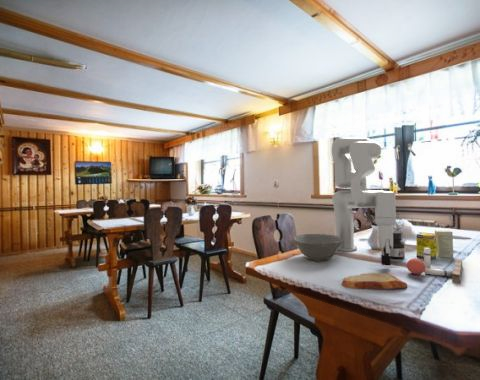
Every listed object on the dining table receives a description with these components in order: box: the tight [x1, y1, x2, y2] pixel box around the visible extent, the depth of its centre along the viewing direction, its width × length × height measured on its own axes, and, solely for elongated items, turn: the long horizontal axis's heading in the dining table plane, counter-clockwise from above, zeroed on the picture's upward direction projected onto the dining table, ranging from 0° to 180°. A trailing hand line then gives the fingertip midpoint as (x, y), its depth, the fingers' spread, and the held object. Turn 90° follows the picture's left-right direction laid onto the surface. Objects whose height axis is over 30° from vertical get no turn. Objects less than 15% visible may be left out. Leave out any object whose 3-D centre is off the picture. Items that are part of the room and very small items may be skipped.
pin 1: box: [423, 248, 432, 269], centre depth 110 cm, size 2×2×8 cm
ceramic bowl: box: [293, 233, 343, 262], centre depth 129 cm, size 22×23×10 cm
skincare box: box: [434, 229, 454, 259], centre depth 128 cm, size 6×4×12 cm
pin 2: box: [424, 268, 453, 278], centre depth 103 cm, size 2×2×8 cm
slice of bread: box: [341, 272, 408, 291], centre depth 95 cm, size 18×18×4 cm
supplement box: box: [415, 232, 437, 260], centre depth 127 cm, size 6×6×11 cm
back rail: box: [451, 258, 463, 284], centre depth 104 cm, size 24×2×3 cm, turn 139°
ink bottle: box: [390, 230, 406, 260], centre depth 129 cm, size 10×9×12 cm
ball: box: [406, 257, 425, 275], centre depth 105 cm, size 6×6×6 cm
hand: (385, 264), depth 113 cm, fingers closed
